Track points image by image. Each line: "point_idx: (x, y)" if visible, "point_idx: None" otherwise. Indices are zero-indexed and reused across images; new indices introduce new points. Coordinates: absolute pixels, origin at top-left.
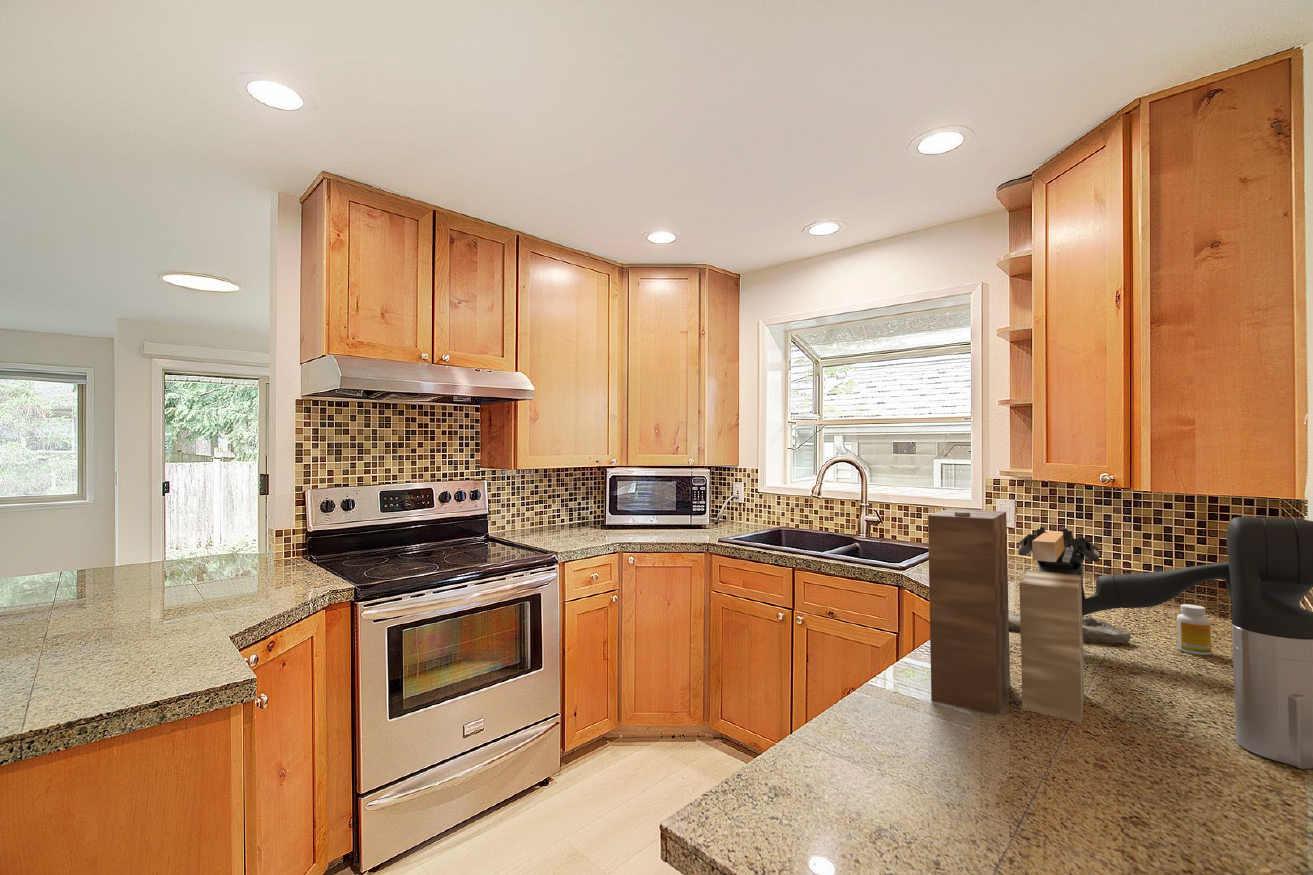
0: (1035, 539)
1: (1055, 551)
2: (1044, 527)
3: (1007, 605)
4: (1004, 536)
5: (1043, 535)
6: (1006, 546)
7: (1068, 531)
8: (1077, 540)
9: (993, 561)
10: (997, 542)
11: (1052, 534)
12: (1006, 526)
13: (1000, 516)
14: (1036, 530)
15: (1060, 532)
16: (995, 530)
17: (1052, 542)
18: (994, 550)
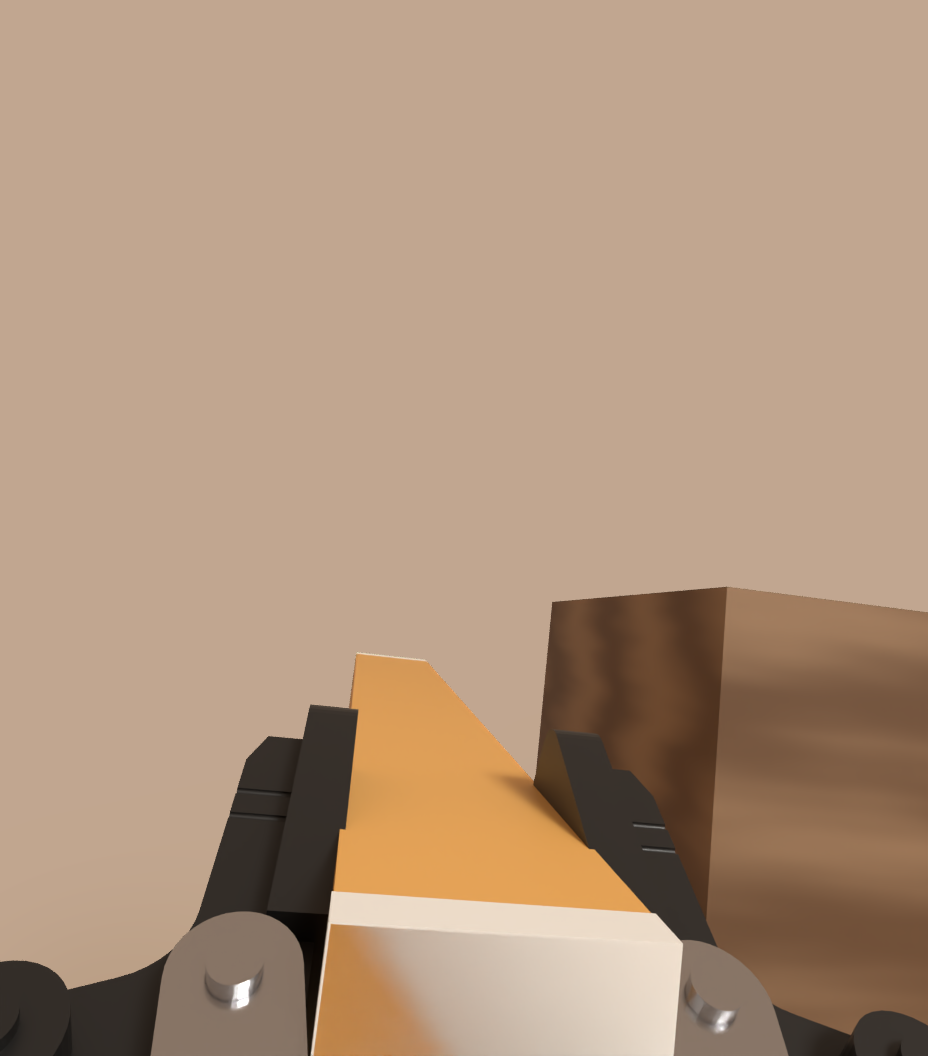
0: (429, 668)
1: (352, 685)
2: (550, 733)
3: None
4: (661, 749)
5: (451, 708)
6: (693, 855)
7: (294, 747)
8: (105, 1000)
9: (538, 761)
10: (569, 712)
11: (422, 735)
12: (714, 703)
13: (616, 605)
14: (645, 798)
15: (396, 851)
16: (562, 652)
17: (364, 654)
18: (546, 724)
